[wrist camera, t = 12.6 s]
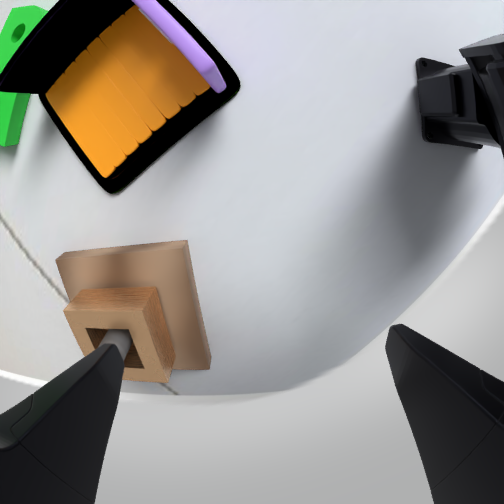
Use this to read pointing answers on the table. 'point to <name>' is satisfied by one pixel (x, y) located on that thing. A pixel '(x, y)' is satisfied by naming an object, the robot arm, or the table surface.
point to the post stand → (146, 275)
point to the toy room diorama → (120, 81)
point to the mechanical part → (3, 47)
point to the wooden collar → (125, 317)
